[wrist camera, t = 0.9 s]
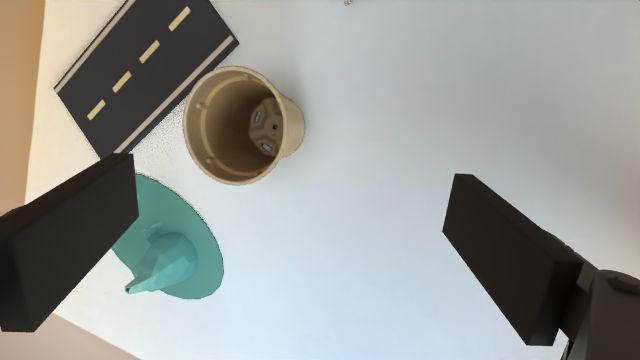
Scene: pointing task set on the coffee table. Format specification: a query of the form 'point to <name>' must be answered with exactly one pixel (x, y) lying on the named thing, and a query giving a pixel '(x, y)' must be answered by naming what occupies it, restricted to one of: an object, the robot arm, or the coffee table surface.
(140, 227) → the diorama
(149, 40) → the road
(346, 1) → the soldier figure
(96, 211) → the robot arm
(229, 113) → the flower pot
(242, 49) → the coffee table surface
